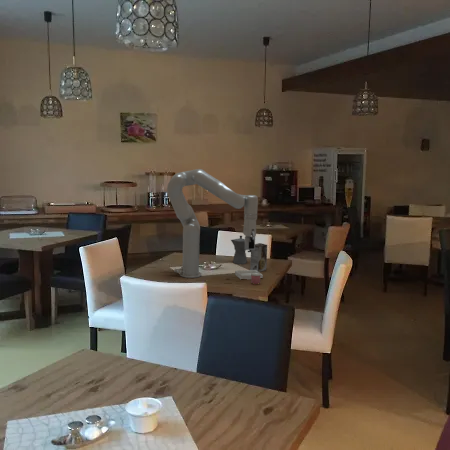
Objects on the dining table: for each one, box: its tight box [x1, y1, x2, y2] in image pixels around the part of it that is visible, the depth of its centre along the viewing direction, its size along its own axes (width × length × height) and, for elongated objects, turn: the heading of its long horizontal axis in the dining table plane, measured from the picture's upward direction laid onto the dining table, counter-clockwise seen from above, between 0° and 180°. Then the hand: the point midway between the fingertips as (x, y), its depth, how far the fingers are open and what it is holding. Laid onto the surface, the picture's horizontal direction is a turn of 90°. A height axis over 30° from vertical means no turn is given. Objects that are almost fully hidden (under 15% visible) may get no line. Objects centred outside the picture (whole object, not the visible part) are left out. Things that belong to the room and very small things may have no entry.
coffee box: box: [249, 242, 268, 273], centre depth 314 cm, size 9×6×16 cm
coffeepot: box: [230, 235, 251, 265], centre depth 333 cm, size 15×9×18 cm, turn 82°
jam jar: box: [250, 272, 262, 284], centre depth 284 cm, size 5×5×6 cm
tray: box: [234, 269, 264, 280], centre depth 299 cm, size 13×12×2 cm
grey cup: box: [244, 236, 256, 251], centre depth 296 cm, size 6×6×7 cm
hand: (249, 247), depth 296 cm, fingers closed on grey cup, 6 cm apart
